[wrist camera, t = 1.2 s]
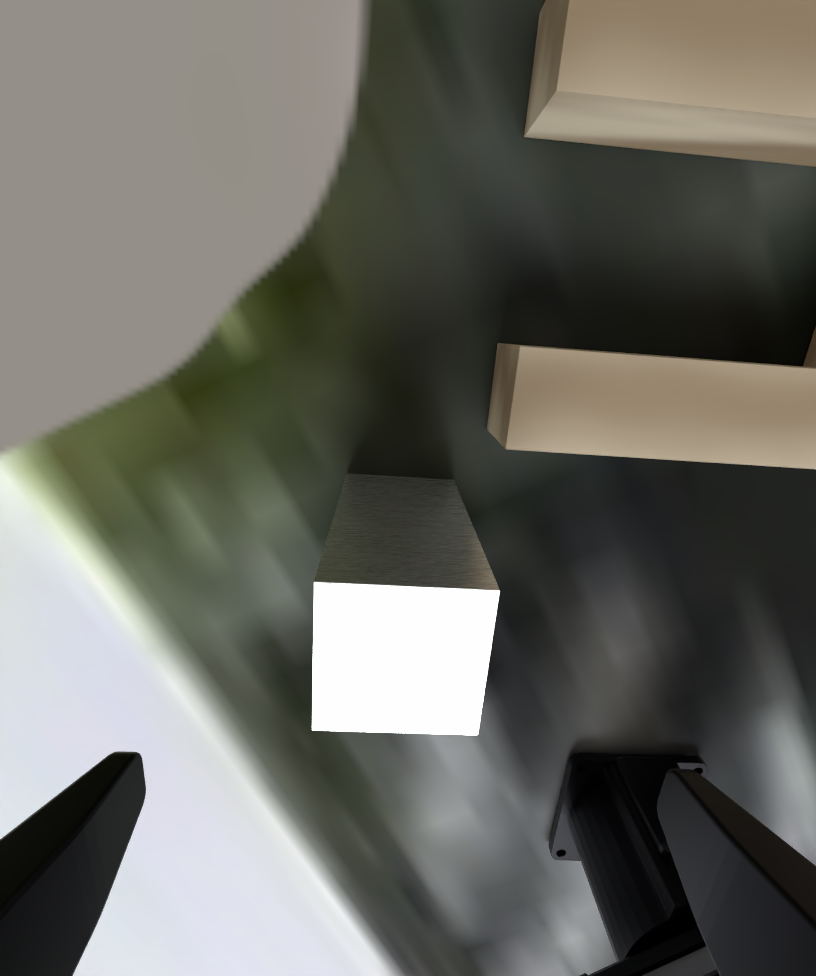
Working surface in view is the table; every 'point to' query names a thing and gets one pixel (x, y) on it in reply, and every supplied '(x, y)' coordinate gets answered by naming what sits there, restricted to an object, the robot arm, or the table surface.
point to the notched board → (682, 129)
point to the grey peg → (401, 611)
